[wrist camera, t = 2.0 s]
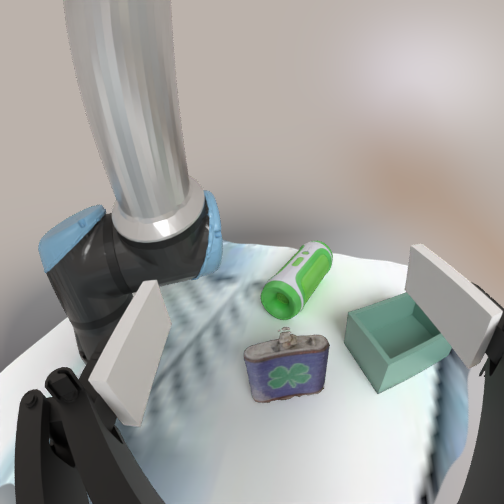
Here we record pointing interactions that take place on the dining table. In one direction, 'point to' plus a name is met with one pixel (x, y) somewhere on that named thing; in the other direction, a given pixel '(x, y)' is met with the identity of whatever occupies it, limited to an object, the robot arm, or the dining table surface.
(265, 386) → the flask
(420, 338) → the open box
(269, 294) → the speaker
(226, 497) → the dining table surface
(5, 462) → the dining table surface
